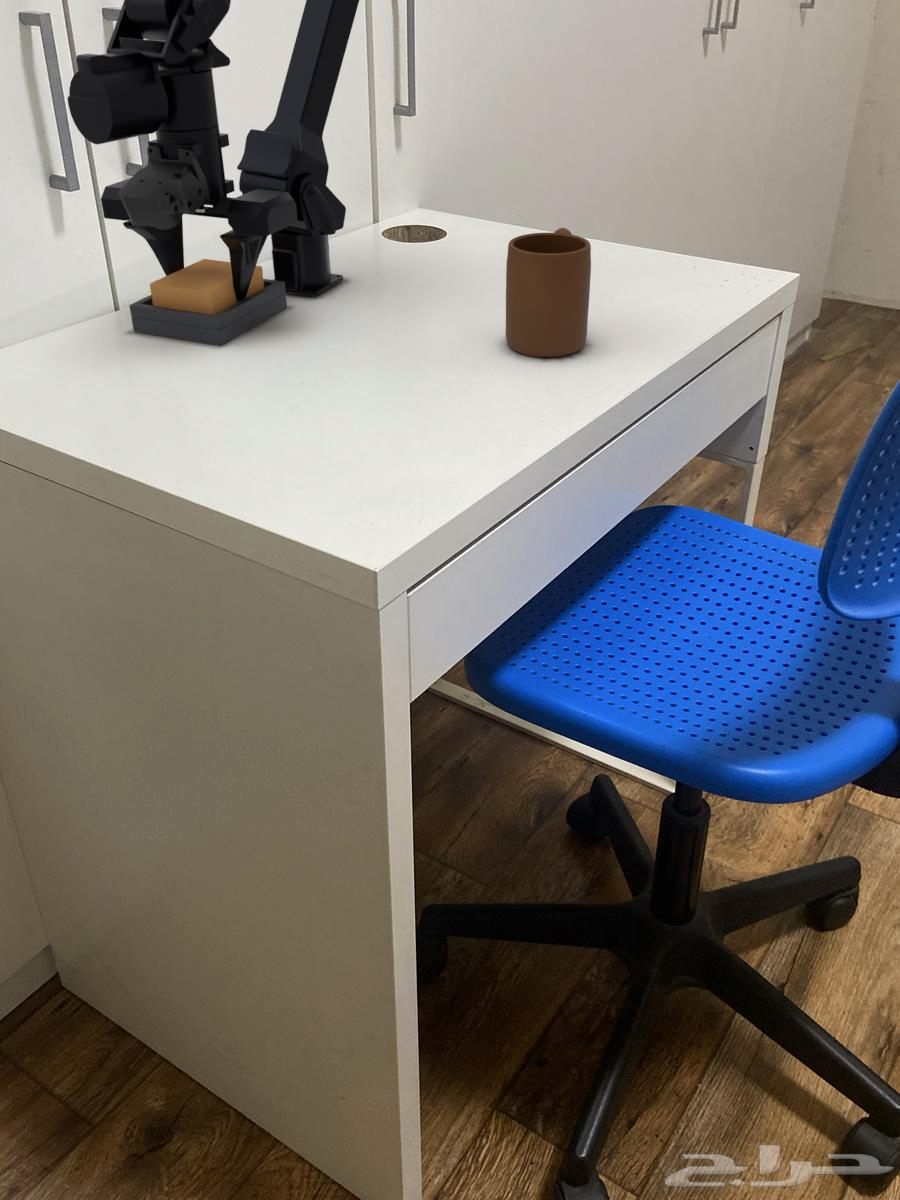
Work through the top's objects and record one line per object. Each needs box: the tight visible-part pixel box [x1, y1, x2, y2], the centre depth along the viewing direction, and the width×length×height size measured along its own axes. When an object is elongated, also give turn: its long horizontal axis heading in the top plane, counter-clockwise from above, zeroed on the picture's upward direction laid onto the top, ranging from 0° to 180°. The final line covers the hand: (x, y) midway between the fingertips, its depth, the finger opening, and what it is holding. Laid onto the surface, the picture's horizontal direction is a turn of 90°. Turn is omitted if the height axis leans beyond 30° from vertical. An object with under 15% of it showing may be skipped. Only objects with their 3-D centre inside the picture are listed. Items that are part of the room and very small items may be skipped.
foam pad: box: [149, 258, 264, 315], centre depth 108 cm, size 9×7×3 cm
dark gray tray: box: [129, 278, 288, 347], centre depth 109 cm, size 12×10×3 cm
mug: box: [505, 227, 592, 358], centre depth 102 cm, size 12×8×9 cm, turn 164°
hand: (209, 295), depth 108 cm, fingers closed on foam pad, 7 cm apart
